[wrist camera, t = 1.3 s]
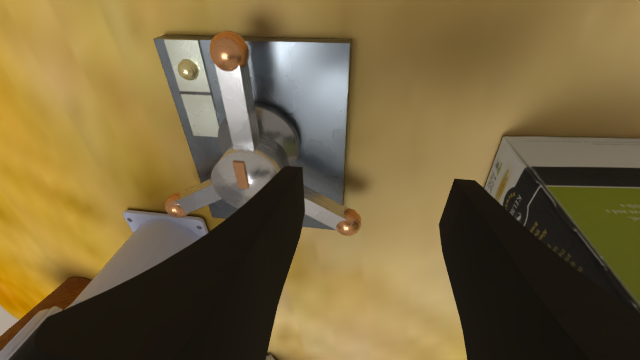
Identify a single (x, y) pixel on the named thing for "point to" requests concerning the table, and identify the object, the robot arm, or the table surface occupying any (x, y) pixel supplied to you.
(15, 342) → the robot arm
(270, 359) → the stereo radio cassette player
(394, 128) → the table surface
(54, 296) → the disposable coffee cup
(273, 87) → the stand plate
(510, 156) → the tea box
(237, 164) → the capstan
